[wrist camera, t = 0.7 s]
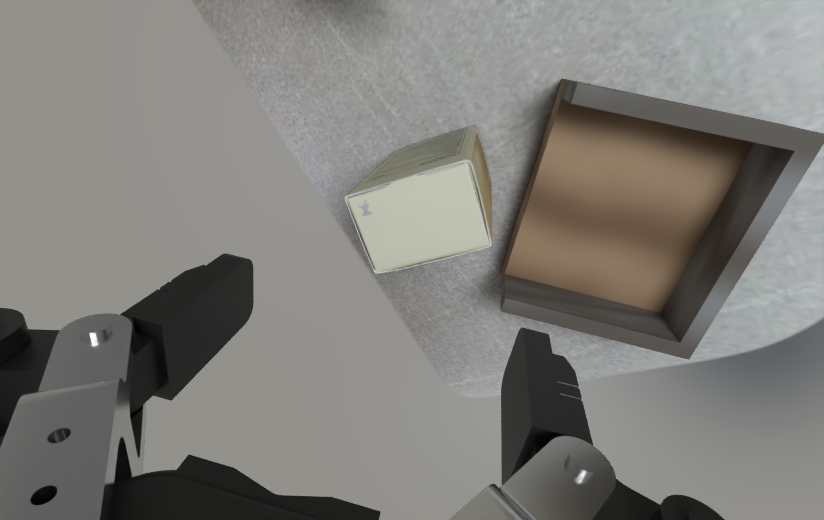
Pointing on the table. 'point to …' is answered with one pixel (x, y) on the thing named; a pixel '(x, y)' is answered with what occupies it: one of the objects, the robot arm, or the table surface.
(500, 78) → the table surface
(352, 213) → the skincare box
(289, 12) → the table surface
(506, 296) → the open-sided tray
